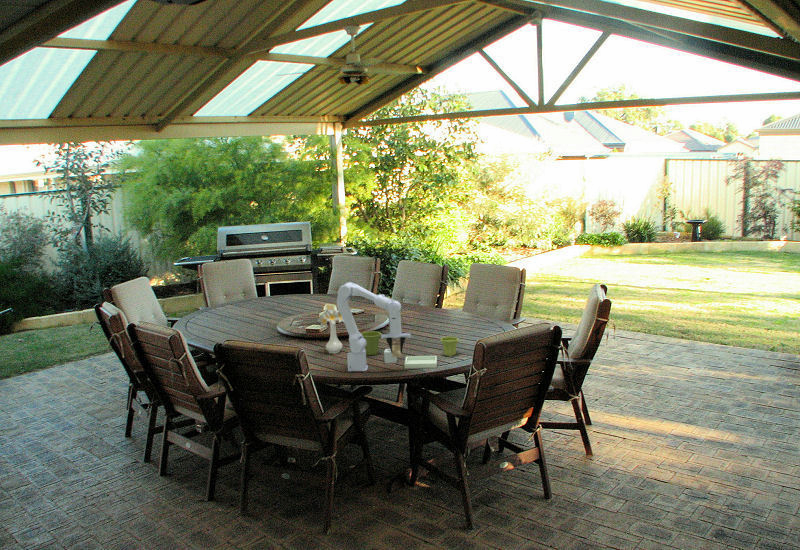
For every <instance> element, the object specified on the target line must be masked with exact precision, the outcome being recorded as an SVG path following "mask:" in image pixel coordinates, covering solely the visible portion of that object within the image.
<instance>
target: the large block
mask: <svg viewBox="0 0 800 550" xmlns="http://www.w3.org/2000/svg"><path fill="white" fill-rule="evenodd" d="M383 356H384V357H383V358H384V364H397V361H398V357H393V355H392V353H391V349H390V348H385V349H384V352H383Z"/></svg>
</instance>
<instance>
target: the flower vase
mask: <svg viewBox="0 0 800 550" xmlns="http://www.w3.org/2000/svg"><path fill="white" fill-rule="evenodd" d="M337 320H338V322H339V323H341V322H343V323H344V321H343V318H342V316H341V313H340V311H339V308H338V306H337V310H334V307H332V308H330V309H329V308H328V307H327V308H325V312H323V313H322V315H320V316H319V318H318V319H316V321H317V322H318V323H320V325H319V327H320V328H323V327H326V328H330V331H329V332H330V334H329V335H330V337H329V341H328V342H327V343H326V344H325V349H326V351H327V352H328V353H329V354H331V353H332V354H333V355H335V354H339V353H341V350H342V349H343V346H344V345H343V343H342V342H341V341H340V340H339V338H338V335H337V329H336V323H337ZM328 322H329V326H328Z"/></svg>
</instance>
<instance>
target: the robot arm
mask: <svg viewBox="0 0 800 550" xmlns="http://www.w3.org/2000/svg"><path fill="white" fill-rule="evenodd" d="M353 296H354V297H355V296H361V297H362V298H365V299H368V300H370V301H372V302H373V303H374V306H377V307H379V308H381V309H383V310H386V311H387V312H388V316H389V317H388V319H389V320H388V321H389V333H383V334H382V333H381V335H380V337H381V338H380V339H381V340H384V339H386V342H387V345H388V347H389V349H391V353H392V343H393V339H400V340H399V343H400V345H401V354H402V353H403V347H404V345H405V341H406V339H411V337H412V336H411V333H410V332H409V333H406V332H405V333H404V332H402V316H401V309H402V304H401V302H400V301H398V300H397V299H396V300H394V299H393V298H388V297H387V296H386V295H385V294H375V293H373V292H372V291H369V290H368V289H366V288H364V287H362V286H361V285H358V284H357V283H354V282H351V281H348V282H346V283H345V284H342V285H340V287H339V289H338V290H337V296H336V297H337V298H336V306H337V307H338V308H339V311H340V313H341V316H342V318H343V321H344V322H343V321H342V322H343V323H344V327H345V328H346V331H347V334H348V341H349V342H348V343H349V350H350V351H349V352H347V353H346V354H347V355H346V356H347V361H346V363H347V372H366V371H368V369H369V365H368V364H367V355H366V350H365V347H366V344H367V342H366V340H365V338H363V336H362V334H361V333H362V332H360V330H359V328H358V326H357V322H356V321H355V318H354V316H353V313H352V311H351V308H350V305H349V301H350V299H351V297H353ZM338 308H337V309H338Z"/></svg>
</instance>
